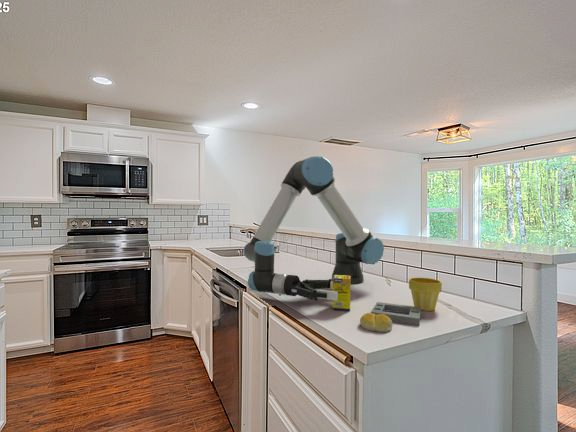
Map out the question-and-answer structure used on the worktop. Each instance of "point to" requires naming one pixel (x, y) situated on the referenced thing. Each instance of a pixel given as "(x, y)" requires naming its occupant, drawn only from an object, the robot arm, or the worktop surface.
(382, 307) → the socket plate
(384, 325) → the bread roll
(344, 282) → the supplement box
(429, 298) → the plant pot
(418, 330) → the worktop surface
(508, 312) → the worktop surface
